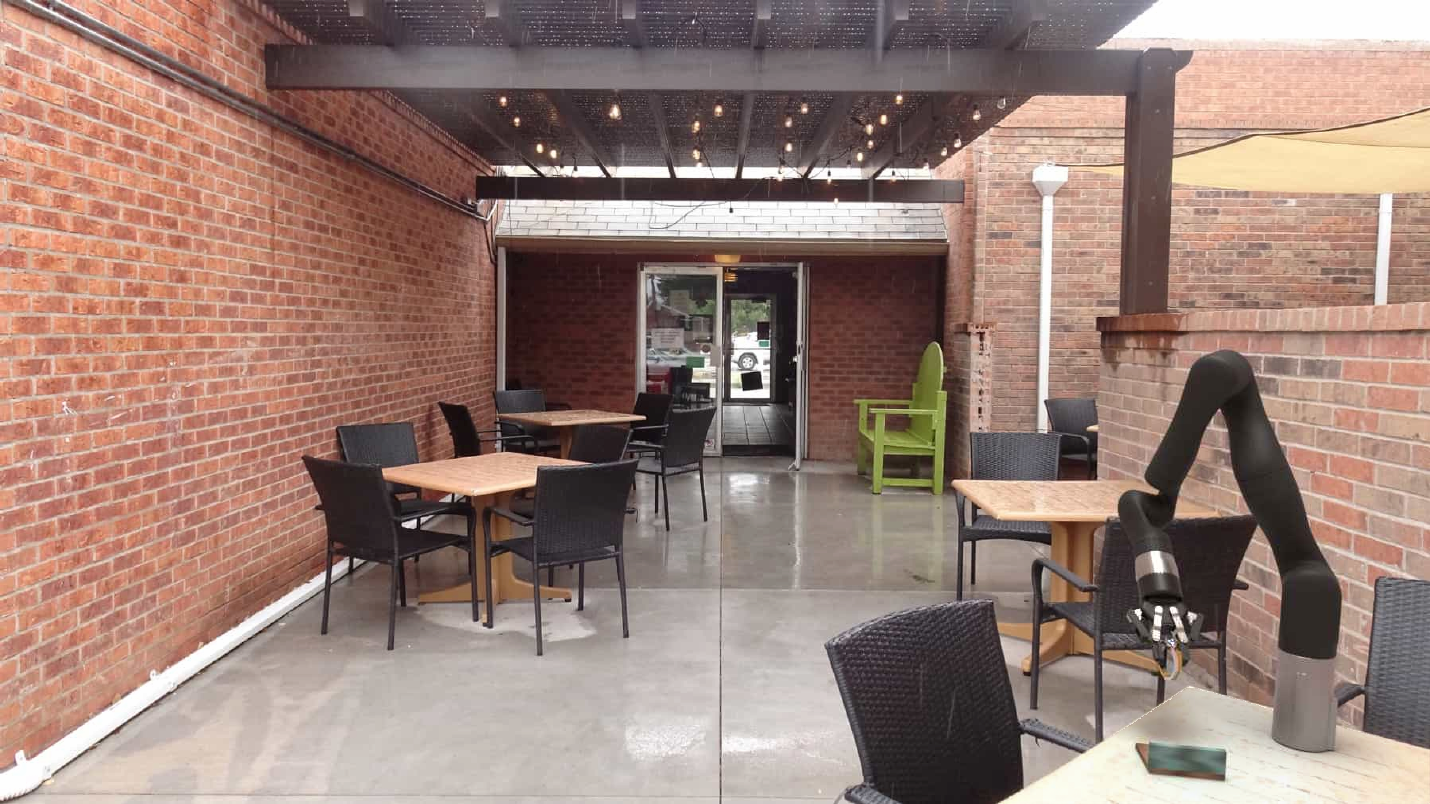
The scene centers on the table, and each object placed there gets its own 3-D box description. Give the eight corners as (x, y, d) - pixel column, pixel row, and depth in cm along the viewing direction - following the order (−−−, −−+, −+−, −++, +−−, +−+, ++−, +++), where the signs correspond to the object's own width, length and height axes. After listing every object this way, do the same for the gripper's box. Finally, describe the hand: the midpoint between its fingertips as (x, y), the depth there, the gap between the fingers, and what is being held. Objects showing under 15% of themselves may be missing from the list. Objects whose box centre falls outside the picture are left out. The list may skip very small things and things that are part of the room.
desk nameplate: (1206, 754, 172) (1208, 727, 171) (1225, 780, 162) (1226, 752, 162) (1135, 747, 174) (1136, 721, 174) (1149, 773, 164) (1150, 744, 164)
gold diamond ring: (1185, 687, 174) (1187, 644, 173) (1167, 687, 174) (1169, 644, 173) (1167, 673, 180) (1169, 632, 180) (1150, 673, 181) (1152, 631, 180)
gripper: (1122, 568, 184) (1135, 651, 173) (1202, 572, 181) (1220, 657, 170) (1115, 588, 189) (1127, 670, 178) (1192, 592, 186) (1209, 675, 176)
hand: (1172, 663), depth 174 cm, fingers closed on gold diamond ring, 3 cm apart
